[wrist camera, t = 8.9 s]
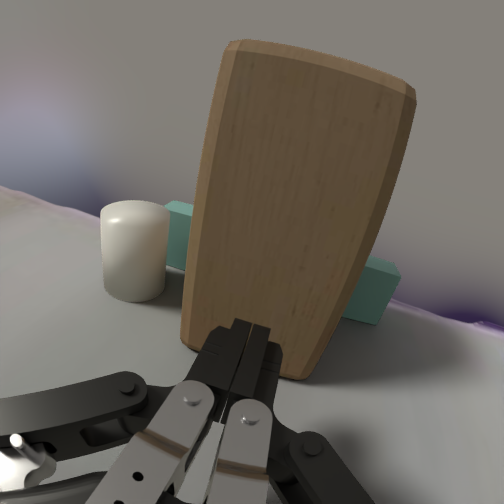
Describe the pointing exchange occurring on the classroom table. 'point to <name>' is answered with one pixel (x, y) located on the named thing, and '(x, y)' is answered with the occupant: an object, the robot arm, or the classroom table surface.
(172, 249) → the teal block
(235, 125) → the wooden block
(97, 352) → the classroom table surface
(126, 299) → the cream rounded cylinder
